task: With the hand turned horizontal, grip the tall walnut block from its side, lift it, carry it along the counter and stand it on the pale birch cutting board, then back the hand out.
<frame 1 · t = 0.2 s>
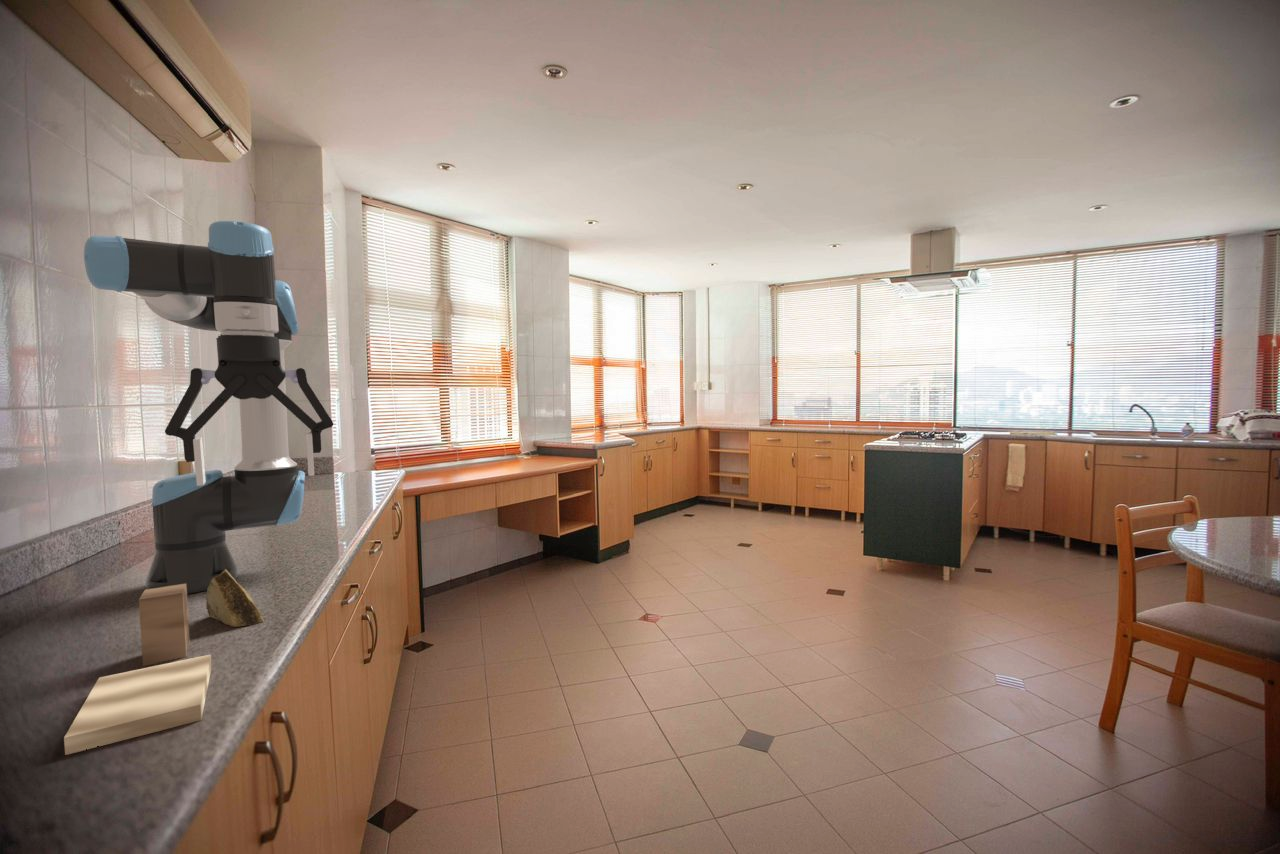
hand: (258, 479, 84), 27 cm above the countertop, tool pointing down, fingers open, 13 cm apart
walnut block: (167, 654, 87), on the countertop
rock: (234, 620, 101), on the countertop
cutting board: (148, 705, 73), on the countertop
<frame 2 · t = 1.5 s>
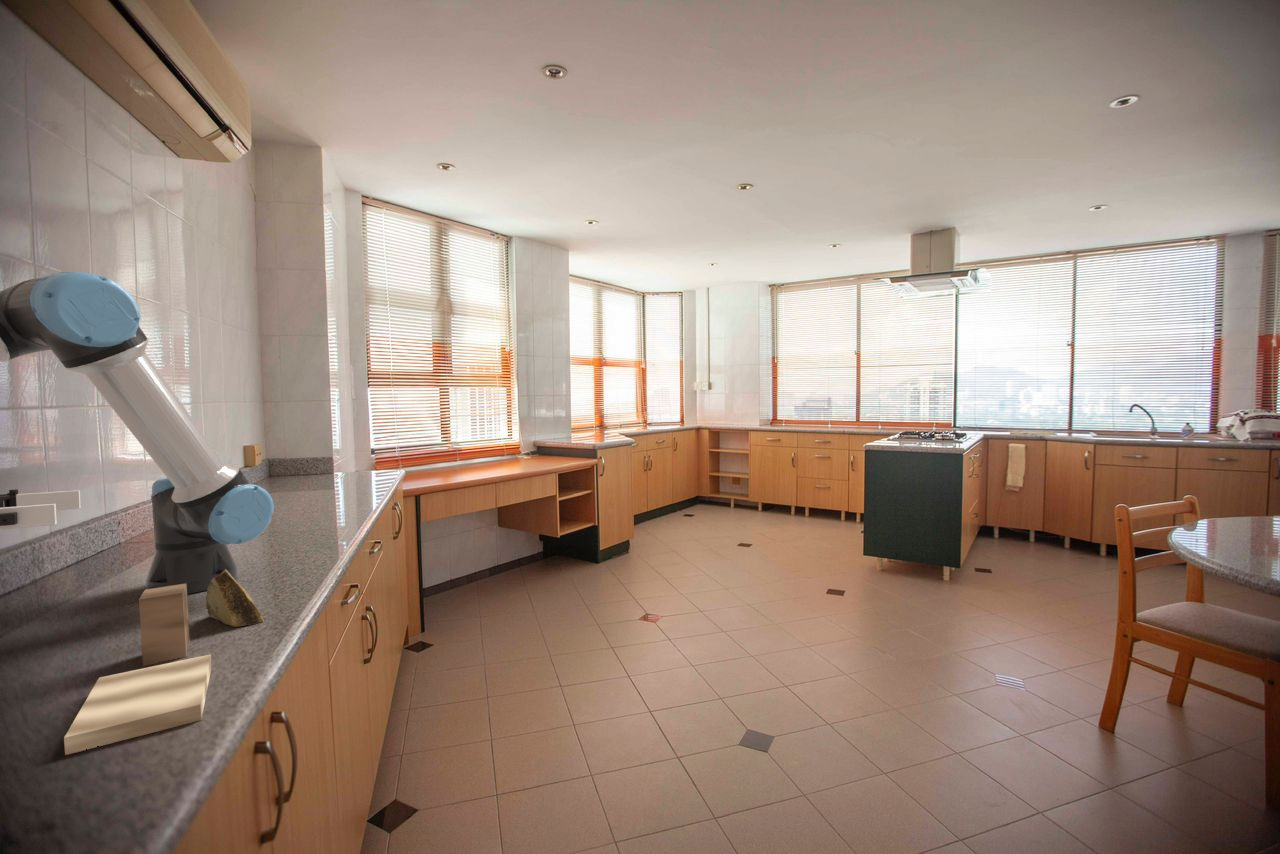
hand: (68, 506, 80), 24 cm above the countertop, tool horizontal, fingers open, 13 cm apart
nothing on the countertop moved.
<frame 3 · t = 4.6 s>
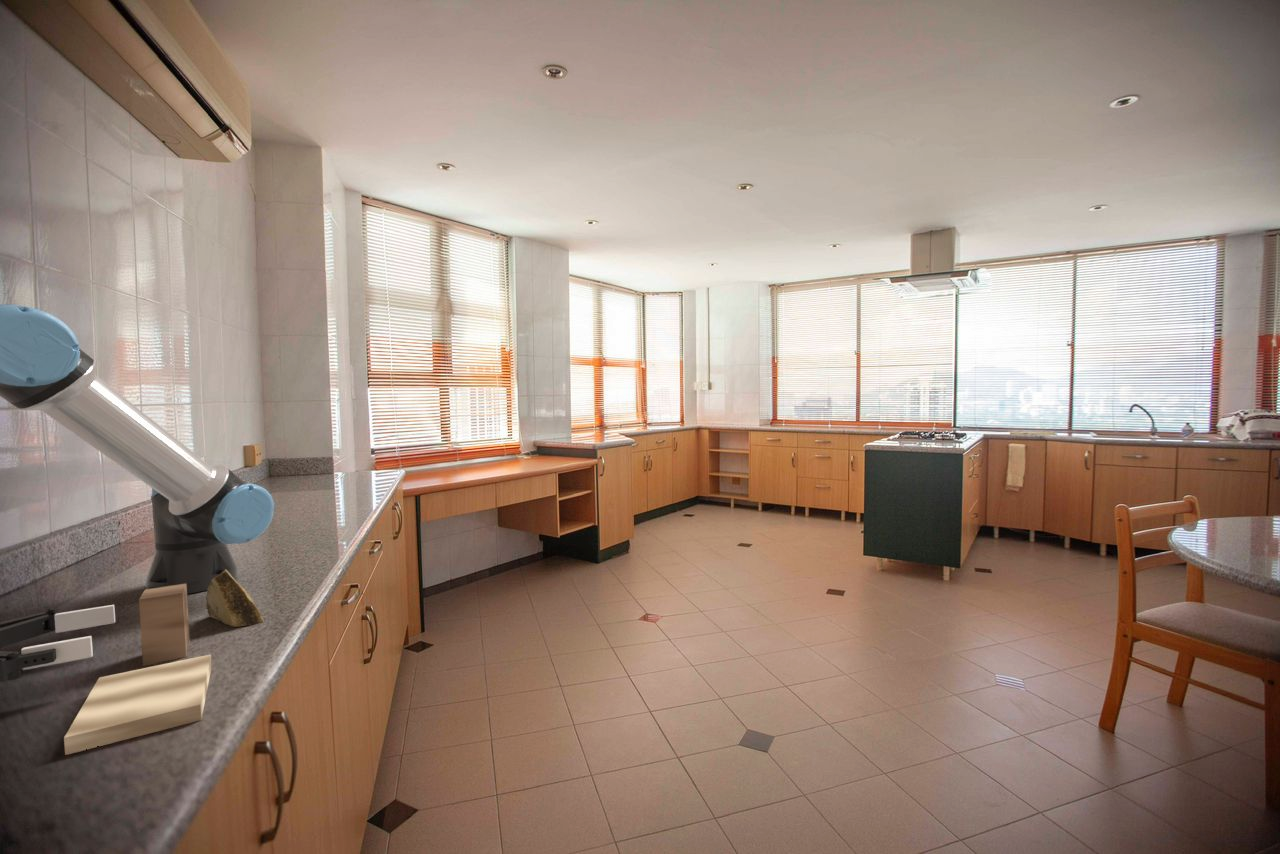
hand: (104, 628, 83), 6 cm above the countertop, tool horizontal, fingers open, 13 cm apart
nothing on the countertop moved.
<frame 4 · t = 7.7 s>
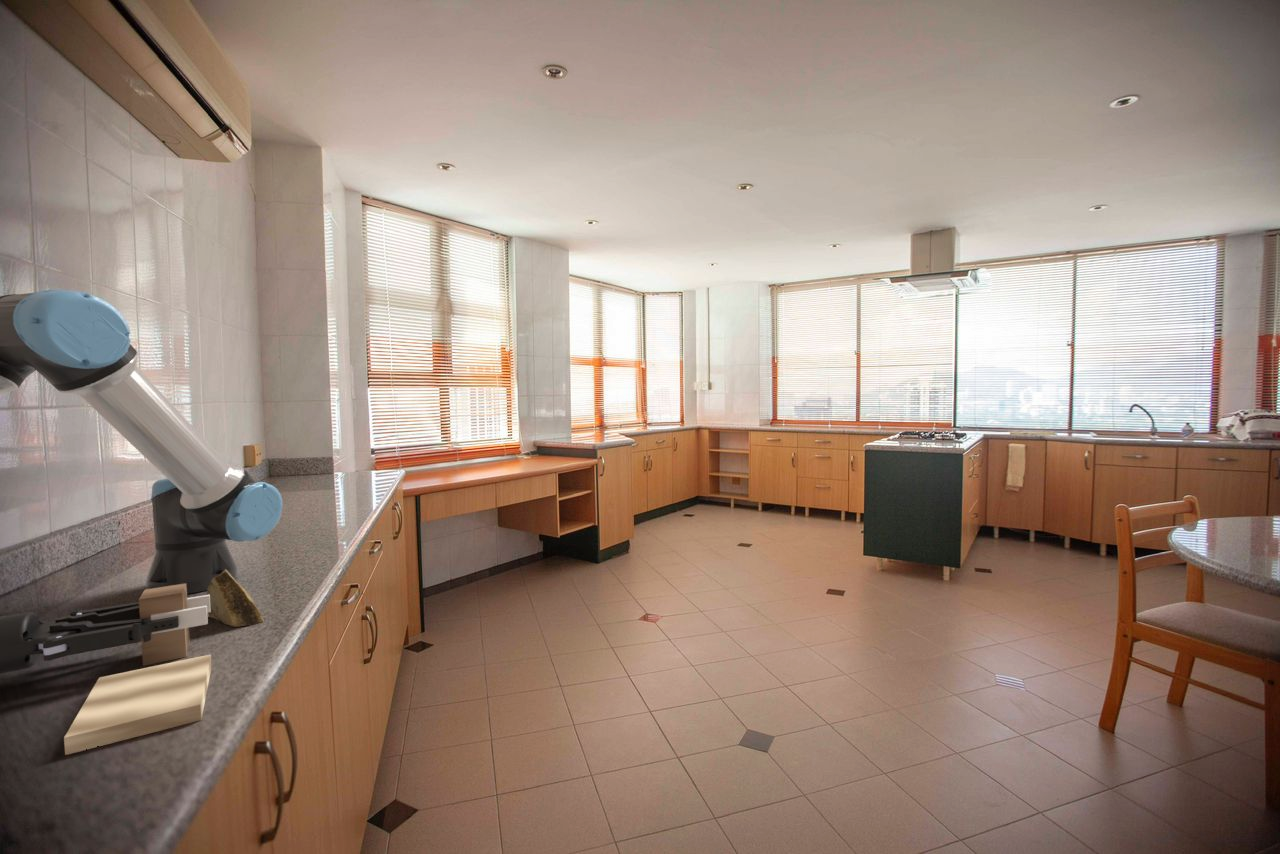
hand: (208, 608, 90), 6 cm above the countertop, tool horizontal, fingers closed on walnut block, 5 cm apart
walnut block: (167, 654, 87), on the countertop, touching gripper
everything else where it was.
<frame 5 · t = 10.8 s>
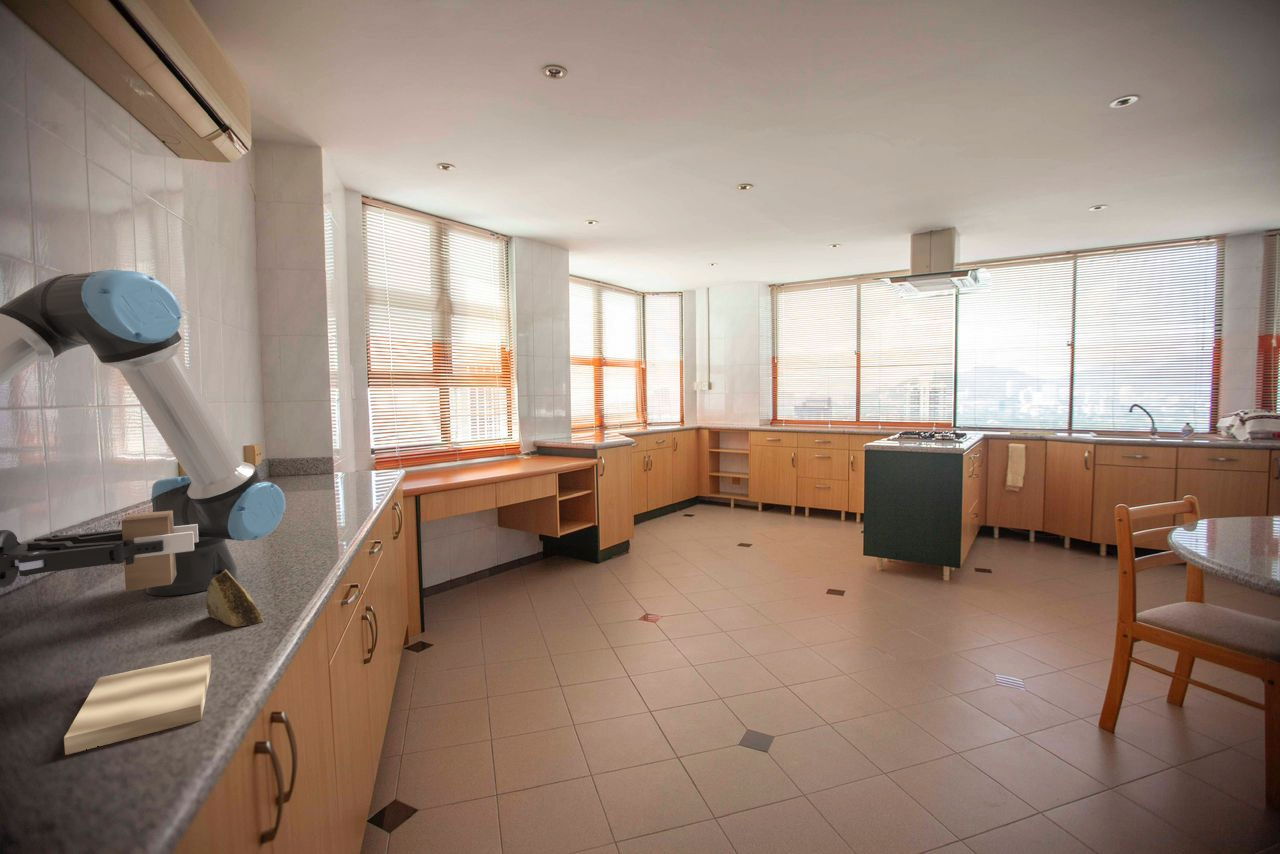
hand: (195, 536, 86), 18 cm above the countertop, tool horizontal, fingers closed on walnut block, 5 cm apart
walnut block: (152, 582, 83), point 12 cm above the countertop, touching gripper
everything else where it was.
when the fingers open (9 cm above the countertop, at t = 14.3 s): walnut block drops 1 cm, resting on cutting board.
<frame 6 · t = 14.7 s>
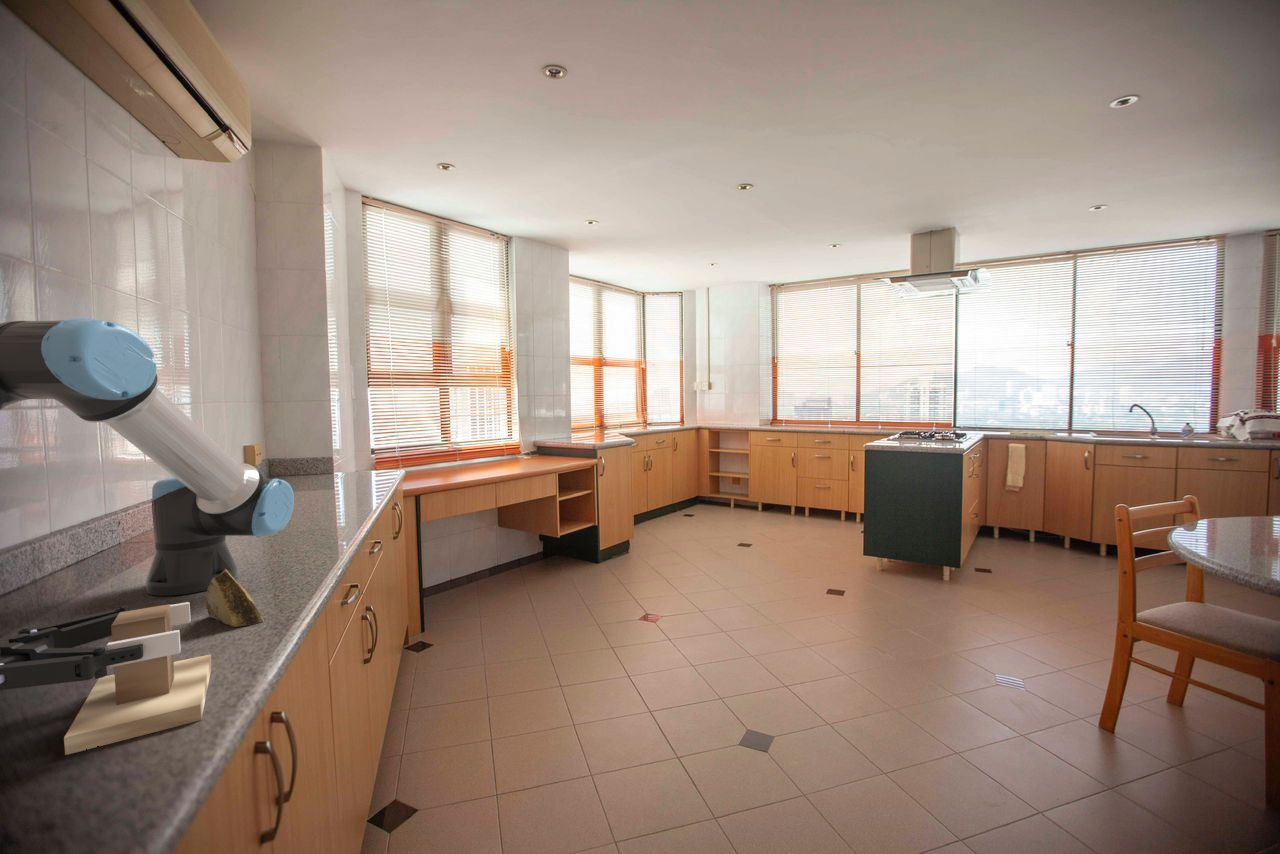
hand: (185, 625, 75), 9 cm above the countertop, tool horizontal, fingers open, 10 cm apart
walnut block: (146, 690, 73), point 2 cm above the countertop, touching cutting board
everything else where it was.
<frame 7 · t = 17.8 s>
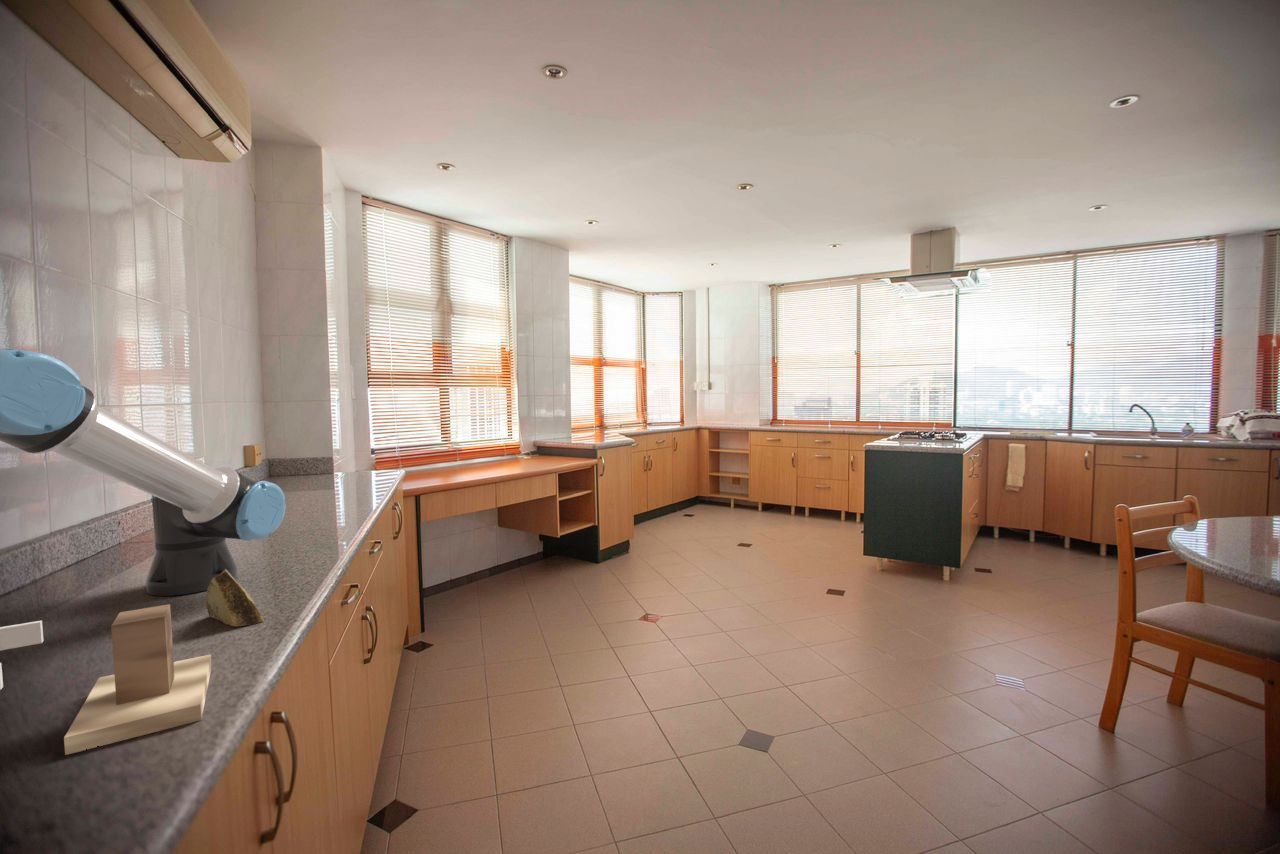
hand: (23, 651, 67), 10 cm above the countertop, tool horizontal, fingers open, 13 cm apart
nothing on the countertop moved.
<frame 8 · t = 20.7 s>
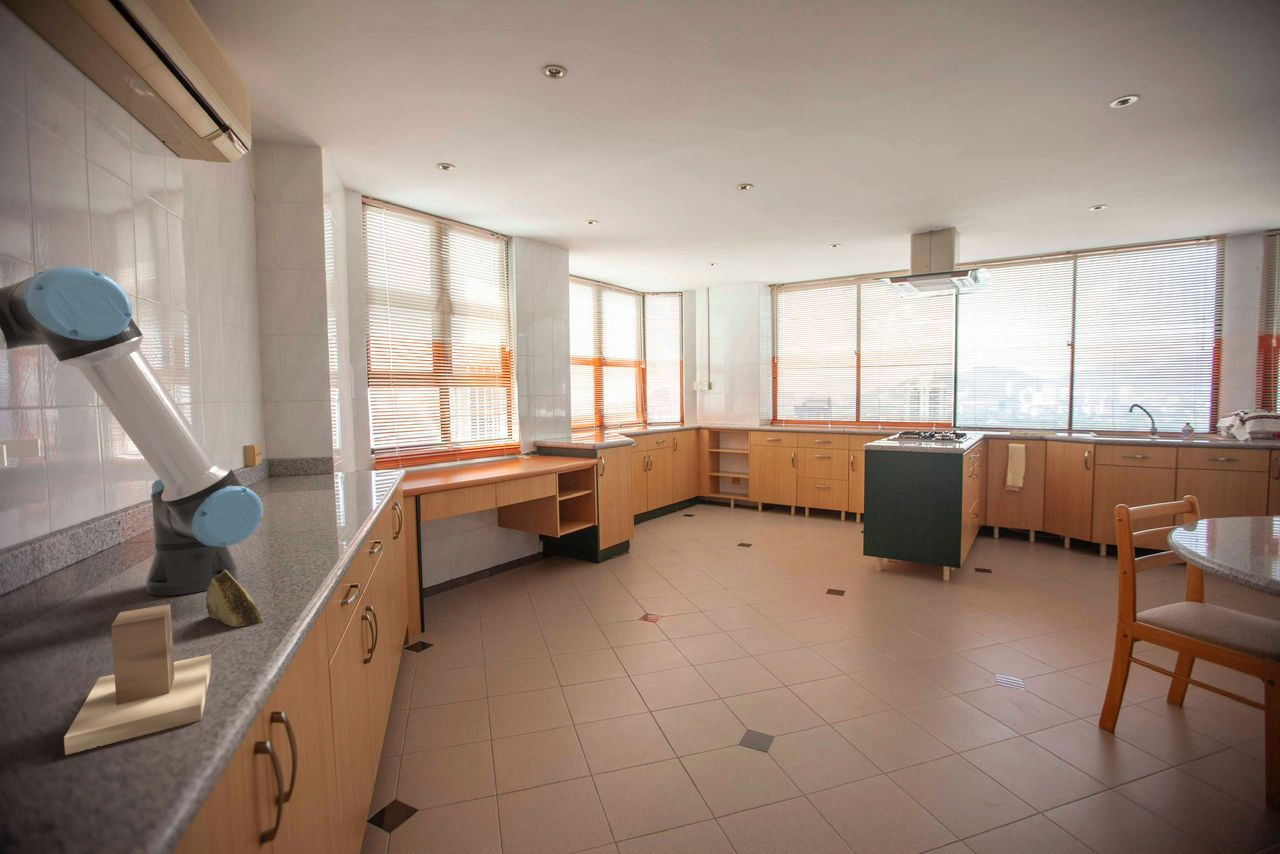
hand: (24, 451, 80), 32 cm above the countertop, tool horizontal, fingers open, 13 cm apart
nothing on the countertop moved.
at the end: walnut block inside the target area on the cutting board (0.1 cm from its centre), point 2.0 cm above the cutting board's base; walnut block tilted 0°; the gripper is holding nothing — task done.
